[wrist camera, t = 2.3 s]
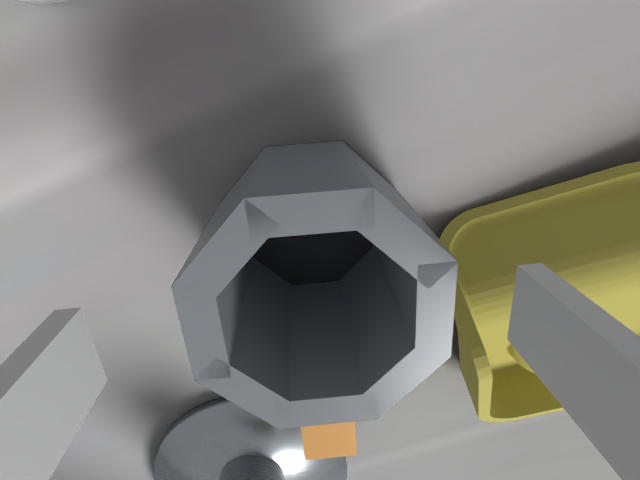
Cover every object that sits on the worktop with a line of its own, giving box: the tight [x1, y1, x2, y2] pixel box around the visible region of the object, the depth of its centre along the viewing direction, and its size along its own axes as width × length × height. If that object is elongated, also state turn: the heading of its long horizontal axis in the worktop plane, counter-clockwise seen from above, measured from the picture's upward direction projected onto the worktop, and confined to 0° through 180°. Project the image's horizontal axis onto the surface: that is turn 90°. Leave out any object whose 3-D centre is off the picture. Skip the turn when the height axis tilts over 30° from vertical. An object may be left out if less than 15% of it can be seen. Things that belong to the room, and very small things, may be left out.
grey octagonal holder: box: [171, 141, 458, 460], centre depth 16 cm, size 8×11×8 cm
